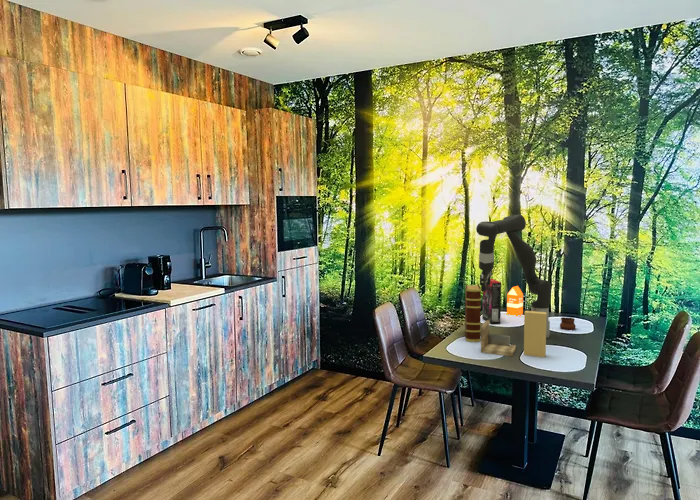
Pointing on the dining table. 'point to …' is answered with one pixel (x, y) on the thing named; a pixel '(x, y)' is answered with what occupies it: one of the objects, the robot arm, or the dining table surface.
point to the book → (535, 333)
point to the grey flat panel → (499, 339)
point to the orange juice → (515, 301)
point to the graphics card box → (492, 302)
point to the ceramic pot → (567, 323)
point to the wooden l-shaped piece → (491, 347)
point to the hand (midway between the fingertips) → (485, 288)
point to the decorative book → (472, 312)
